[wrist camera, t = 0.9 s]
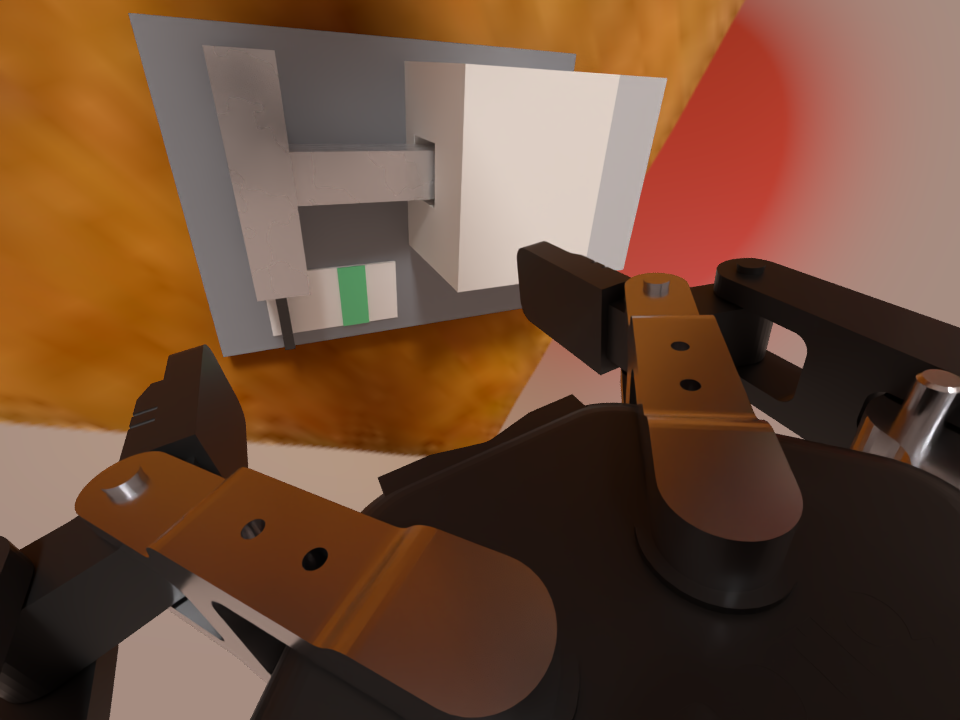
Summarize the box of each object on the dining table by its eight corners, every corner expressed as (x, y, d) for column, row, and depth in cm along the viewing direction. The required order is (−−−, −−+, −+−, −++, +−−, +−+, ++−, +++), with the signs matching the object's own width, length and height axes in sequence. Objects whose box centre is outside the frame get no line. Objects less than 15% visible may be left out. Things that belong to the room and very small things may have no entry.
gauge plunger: (204, 46, 21) (202, 44, 17) (442, 63, 25) (487, 65, 21) (268, 346, 29) (277, 395, 25) (439, 318, 33) (471, 356, 29)
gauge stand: (134, 16, 21) (90, -5, 13) (558, 54, 30) (672, 54, 23) (222, 341, 30) (226, 438, 22) (528, 295, 39) (603, 353, 32)
